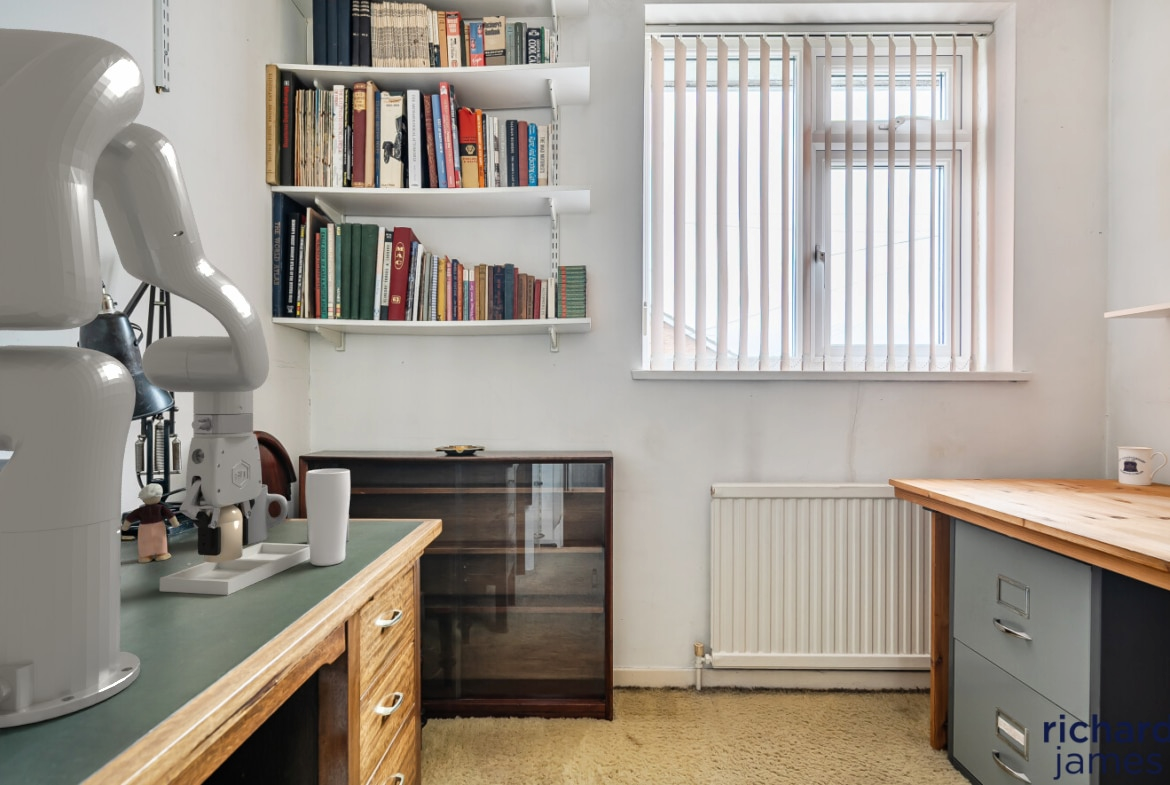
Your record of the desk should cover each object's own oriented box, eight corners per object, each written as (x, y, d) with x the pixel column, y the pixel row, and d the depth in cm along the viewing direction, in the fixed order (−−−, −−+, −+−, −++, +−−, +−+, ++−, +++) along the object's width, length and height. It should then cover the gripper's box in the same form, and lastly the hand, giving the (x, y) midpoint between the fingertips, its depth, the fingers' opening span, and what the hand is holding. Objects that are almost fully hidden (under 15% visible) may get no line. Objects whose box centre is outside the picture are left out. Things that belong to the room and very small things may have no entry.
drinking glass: (339, 568, 93) (339, 473, 93) (296, 568, 93) (297, 473, 93) (356, 556, 99) (357, 468, 100) (317, 556, 100) (317, 468, 100)
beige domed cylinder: (226, 563, 84) (226, 507, 84) (196, 561, 85) (196, 506, 84) (249, 554, 89) (249, 501, 89) (221, 552, 89) (221, 500, 89)
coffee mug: (197, 548, 105) (198, 492, 105) (216, 536, 114) (217, 484, 115) (280, 543, 108) (280, 489, 109) (291, 532, 118) (292, 482, 118)
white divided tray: (228, 594, 80) (228, 581, 80) (159, 591, 82) (159, 578, 82) (317, 555, 100) (317, 544, 100) (261, 553, 102) (261, 542, 102)
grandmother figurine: (177, 553, 101) (177, 480, 102) (179, 558, 99) (180, 482, 99) (120, 561, 96) (121, 484, 97) (121, 566, 94) (122, 487, 94)
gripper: (200, 430, 78) (200, 568, 78) (284, 423, 94) (284, 536, 94) (151, 429, 79) (150, 565, 79) (242, 423, 95) (242, 534, 95)
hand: (223, 548), depth 87 cm, fingers closed on beige domed cylinder, 4 cm apart
